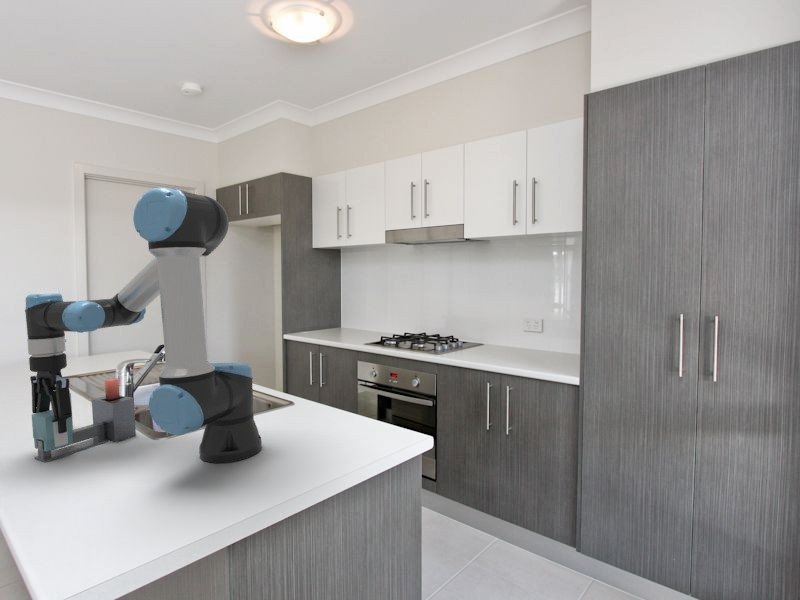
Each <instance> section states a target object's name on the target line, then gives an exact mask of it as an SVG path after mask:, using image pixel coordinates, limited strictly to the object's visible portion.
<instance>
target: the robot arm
mask: <svg viewBox="0 0 800 600" xmlns="http://www.w3.org/2000/svg"><path fill="white" fill-rule="evenodd" d="M226 211H227V210H226V209H225V208H224V206H223V205H222V204H221V203H220V202H219V201H218V200H216V199H214V198H212V197H211V196H207V195H202V194H197V193H192V192H190V191H189V192H188V191H184V190H180V189H179V188H178V189H177V188H169V187H168V188H167V187H155V188H152V189H149V190H148V191H146V192H145V193H144V194H142V195H141V198H139V200H138V201H137V202H136V205H135V207H134V211H133V227H134V228H135V231H136V232H137V233H138V234H139V236H140V237H141V238H142V239H144V240H145V241H147V243H148V244H147V245H148V252H149V253H150V254H152V255H153V259H151V260H150V261H149V262H148V263H147V264H146V265H145V266H144V267H143V268H142V269H141V270H140V271H139V272H138V273H137V274H136V275H135V276H134V277H133V278H131V280H130V281H129V282H128V283H127V284H126V285H125V286H124V287H123V288H122V289H120V290H119V292H117V293H116V294H115V295H114V296H113V297H111V298H105V299H104V298H103V299H102V298H101V299H93V300H91V299H89V300H75V301H74V300H73V301H70V300H69V301H64V299H63V295H62V294H61V293H55V292H53V293H50V292H49V293H33V294H32V293H31V294H28V295H27V296H26V297H25V309H24V313H25V322H26V334H27V351H28V355H30V356H29V358H28V362H29V363H28V364H29V371H31V372H33V373H36V375H31V376H30V378H29V379H30V383H31V384H30V385H31V410H32V413H31V414H36V413H40V412H44V411H49V410H52V409H53V413H54V417H55V419H54V420H52V422H53V430H54V444H55V447H58V446H62V445H65V444H68V434H67V419H68V418H69V417H72V418H73V409H72V410H71V405H72V401H71V402H70V393H71V392H70V393H69V390H70V379H69V378H64V377H63V375H62V369H65V368H66V367H67V366H68V363H67V360H68V359H67V353H64V352H66V342H67V339H66V336H65V335H66V334H65V332H71V333H88V332H89V333H91V332H94V331H98V329H99V330H100V329H106V328H112V327H121V326H131V325H134V324H137V323H140V322H142V320H143V319H144V318H145V315H146V310H147V309H146V308H147V307H148V306H149V305H150V304H151V303H152V302H153V301H154V300H156V299H157V297H158V296H160V297H159V298H160V308H161V323H162V331H163V332H162V333H163V346H164V347H163V348H164V359H165V366H164V368H163V369H162V370H161V371H160V372H159V374H158V379H159V381H158V383H159V386H158V387H156V388H155V389H154V390H153V391H152V394H150V395H149V399H148V409H149V414H150V417H151V418H152V420H153V422H154V424H156V426H158V427H160V429H161V430H162V431H163V432H165V433H167V434H170V435H174V436H181V435H186V434H189V433H193V432H196V431H197V430H200V429H201V428H202V427H205V428H204V430H203V433H202V439H201V443H200V445H199V447H198V449H199V451H198V452H199V458H200V459H201V460H202V461H204V462H208V463H212V464H213V463H216V464H217V463H219V464H224V463H231V462H232V463H233V462H238V461H242V460H245V459H248V458H251V457H252V456H255V455H257V454H258V453H260V451H261V450H262V448H263V447H262V446H263V445H262V443H263V442H262V437H261V435H260V434H259V430H258V429H259V428H258V427H257V425H256V421H255V417H254V395H253V393H254V392H253V391H254V390H253V389H254V388H253V379H254V376H253V375H252V368H251V366H250V365H249V364H248V363H245V362H212V363H210V362H209V361H208V353H207V352H208V351H207V340H206V338H207V337H206V326H205V315H204V314H205V312H204V302H203V301H204V299H203V286H202V274H201V273H202V272H201V262H200V261H201V260H200V258H201V257H208V256H209V255H211V253H213V252H214V251H215V250H216V249H217V248H218V247H219V246H220V244H222V242H223V241H224V239H225V238H226V236H227V234H228V231H229V216H228V213H227V212H226ZM51 405H52V408H51ZM50 408H51V409H50Z"/></svg>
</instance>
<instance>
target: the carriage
mask: <svg viewBox="0 0 800 600" xmlns="http://www.w3.org/2000/svg"><path fill="white" fill-rule="evenodd" d="M54 419H55V417H54V413H53V410H52V409H50V410H49V411H44V412H40V413H35V414H33V413H31V424H32V438H33V440H34V442H33V443H34V448H35V449H37V450H38V446H37V440H43V441H44V451H46V452H47V451H50V450H52V451H54V450H53V449H55V450H57V449H56V448H59V449H61V448H60V447H62V448H64V447H63V446H65V447H67V446H66V445H68V446H70V445H69V444H71V445H73V444H72V443H73V439H72V434H73V430H74V426H72V420H73V416H72V417H69V418H68V419H67V434H68V444H65V445H62V446H58V447H55V444H54V430H53V422H52V420H54Z"/></svg>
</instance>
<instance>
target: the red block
mask: <svg viewBox="0 0 800 600" xmlns="http://www.w3.org/2000/svg"><path fill="white" fill-rule="evenodd" d="M104 393H105V395H104V396H106V399H116V398H119V397H120V396H121V395H120V380H119V378H117V377H116V378H115V377H114V378H108V379H105V380H104Z"/></svg>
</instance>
